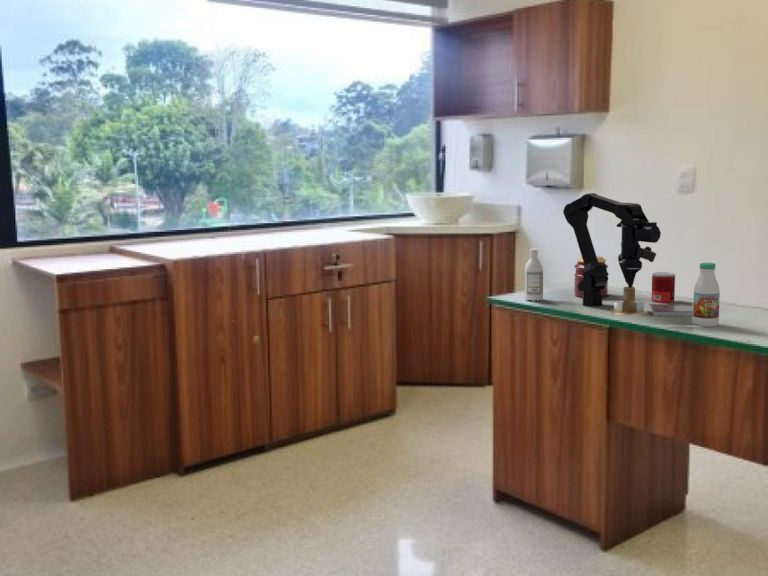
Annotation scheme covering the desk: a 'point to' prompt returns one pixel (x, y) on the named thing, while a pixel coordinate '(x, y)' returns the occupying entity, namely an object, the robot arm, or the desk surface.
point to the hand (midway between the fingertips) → (629, 285)
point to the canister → (579, 278)
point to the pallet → (629, 303)
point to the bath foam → (534, 277)
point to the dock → (671, 309)
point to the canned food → (663, 287)
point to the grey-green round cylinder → (639, 307)
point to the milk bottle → (706, 297)
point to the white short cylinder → (618, 307)
